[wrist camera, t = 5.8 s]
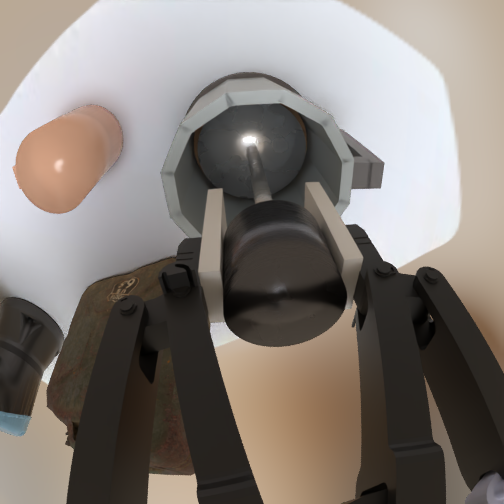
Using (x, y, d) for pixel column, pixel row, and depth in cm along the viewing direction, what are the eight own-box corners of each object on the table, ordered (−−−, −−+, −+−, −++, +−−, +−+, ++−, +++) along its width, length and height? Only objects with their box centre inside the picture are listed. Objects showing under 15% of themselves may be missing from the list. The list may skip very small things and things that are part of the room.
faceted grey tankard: (193, 195, 32) (177, 274, 22) (177, 79, 25) (139, 97, 14) (329, 186, 33) (373, 256, 22) (333, 72, 25) (398, 89, 15)
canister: (190, 248, 37) (169, 458, 17) (216, 293, 42) (216, 476, 22) (81, 284, 39) (27, 440, 19) (111, 320, 44) (79, 466, 24)
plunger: (204, 199, 27) (185, 380, 13) (192, 102, 22) (116, 206, 7) (303, 192, 28) (374, 359, 13) (304, 95, 22) (436, 185, 8)
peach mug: (60, 181, 29) (21, 221, 22) (43, 119, 24) (-5, 146, 17) (129, 166, 30) (100, 206, 22) (116, 96, 25) (76, 115, 18)
